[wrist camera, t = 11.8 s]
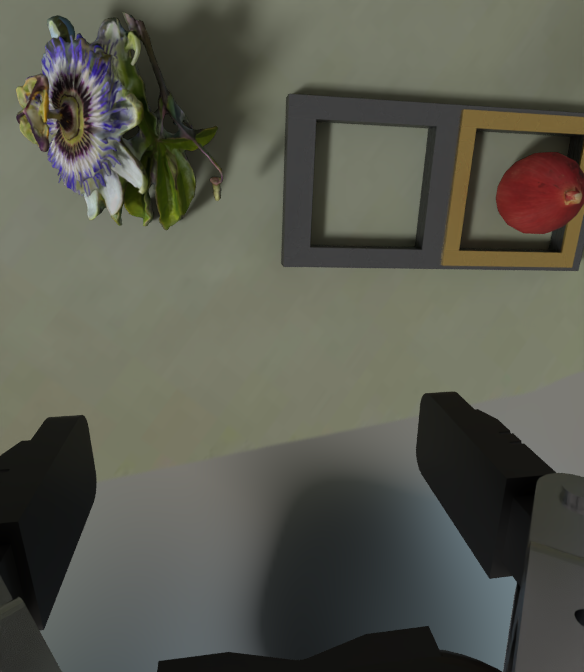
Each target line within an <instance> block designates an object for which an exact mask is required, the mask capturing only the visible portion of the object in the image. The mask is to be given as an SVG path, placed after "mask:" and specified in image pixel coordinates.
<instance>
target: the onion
mask: <svg viewBox="0 0 584 672" xmlns="http://www.w3.org/2000/svg"><path fill="white" fill-rule="evenodd" d="M496 203H497V208H498V211H499V213H500V215H501V216H502V218H503V219H504V220H505V222H506V223H507V225H509V226H511V227H513V228H515V229H516V230H518V231H520V232H522V233H531V234H545V233H548V232H551V231H554V230H556V229H559V228H561V227H563V226H565V225H566V224H567V223H568V222H570V221H571V220H572V219H573V218H574V217H575V216H576V215H577V214H578V212H579V211H580V209H581V208H582V206H583V205H584V173H583V171H582V170H581V168H580V167H579V165H578V163H577V162H576V161H574V160H572V159H570V158H568V157H566V156H564V155H562V154H560V153H558V152H545V153H534V154H532V155H530V156H528V157H526V158H524V159H521V160H519V161H517V162H515V163H514V164H513V165H512V166H511V167H510V168H509V169H508V170H507V171H506V172H505V174H504V175H503V177H502V179H501V181H500V183H499V185H498V188H497V194H496Z"/></svg>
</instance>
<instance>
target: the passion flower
mask: <svg viewBox="0 0 584 672" xmlns="http://www.w3.org/2000/svg"><path fill="white" fill-rule="evenodd" d="M123 15H124V17H125V21H126V23H127V25H128V29H129V30H130V31H125V30H124V29H123V28H122V26H121V24H120V22H119V20H118V18H108V19H106V20H104V21H103V22H102V24H101V26H100V28H99V31H98V37H97V39H96V40H95V41H94V42H93V43H91V44H89V43H88V42H87V41H86V40H85V39H84V38H83V37H82V35H81V34H80V33H78V34H77V39H76V40H74V38H75V31H74V27H73V25H72V24H71V23H70V21H69V20H67V19H66V18H64V17H61V16H58V15H57V16H53V17H51V18H49V19H48V20H47V22H48V27H49V30H50V33H51V36H52V39H51V40H50V41H49V42H47V44H46V46H45V48H46V49H45V51H46V53H44V54H43V58H42V72H43V74H39V75H36V76H31V77H28V78H27V79H26V81H25V84H24V86H19V87H17V89H16V92H17V96H18V100H19V103H20V105H21V107H22V108H23V110H22V111H20V112H18V114H17V117H16V118H17V121H18V123H19V124H20V130H21V132H22V134H23V135H24V136H25V137H27V139H28V140H29V141H31V142H32V143H33V144H36V143H37V145H38V146H39V148H40V150H41V151H43V152H47V151H48V149H49V152H48V160H49V161H50V162H51V164H52V167H53V168H57V169H59V173H58V176H59V174H61V176H60V179H59V182H58V183H60V180H61V178H63V180H64V185H67V188H70V189H72V190H73V191H74V192H75V193H78V194H79V195H82V196H83V195H84V198H85V200H86V203H87V211H88V213H87V214H88V217H89V219H90V220H93V219H94V218H95V217H96V216H98V215H99V214H101V213H102V211H103V210H104V208H106V207H107V209H108V211H109V213H110V215H111V217H112V219H114V221H115V222H116V223H117V224H118V225H119V226H121V225H122V219H121V214H122V206H123V204H124V207H125V208H126V210H127V211H128V212H129V214H131V215H132V216H136V217H141V218H143V226H147V225H148V224H149V223H150V222H151V221H152V219H153V214H154V213H153V209H152V206H151V198H150V195H149V188H150V186H151V185H152V184H154V190H155V198H156V204H157V208H158V212H159V214H160V218H159V221H160V223H161V225H162V227H163V228H164V229H165V230H168V229H169V227H170V226H172V225H174V224H175V223H176V222H178V221H179V220H181V219H182V218H183V216H184V215H185V213H186V211H187V209H188V207H189V205H190V203H191V201H192V199H193V198H194V195H195V188H196V178H195V174H194V172H193V169H192V167H191V165H190V163H189V161H188V159H187V156H186V155H185V150H188V151H194V150H196V149H198V148H200V150H201V152H202V153H204V154H205V155H207V157H208V158H209V159H210V161H211V162H212V163H213V164H214V166H215V167H216V168H217V169H218V170H219V172H220V173H221V177H211V178H210V181H211V182H212V184H213V189H214V191H213V195H214V197H215V200H216V201H219V199H220V198H221V187H220V184H221V183H222V181H223V174H222V169H221V168H220V167H219V166H218V164H217V163H216V162H215V160H214V159H213V158H212V157H211V155H210V154H209V153H208V152H207V151H206V150H205V149H204V148H203V146H204V145H206V144H208V143H209V142H210V141H211V139H212V138H213V137H214V136H215V133H216V131H217V129H218V127H217V126H214V127H211V128H207V129H199V130H194V129H192V128H193V127H192V125H191V124H190V123H189V121H188V119H187V118H186V116H185V114H184V112H183V111H182V110H181V108H180V107H179V106H178V105H177V103H176V102H175V100H174V98H173V96H172V95H171V93H170V92H169V91H168V90H167V88H166V86H165V83H164V80H163V77H162V74H161V71H160V69H159V67H158V64H157V61H156V58H155V55H154V52H153V49H152V45H151V41H150V37H149V35H148V33H147V31H146V28H145V26H144V23H143V21H140V20H139V21H138V20H135V19H134V18H133V17H132V15H128V14H127V13H124V12H123ZM140 40H141V41H142V42H143V44H144V45H145V48H146V50H147V53H148V56H149V59H150V62H151V64H152V67H153V70H154V73H155V76H156V78H157V81H158V84H159V88H160V95H159V99H158V109H157V110H156V112H153V111H152V110H151V108H150V106H149V105H148V102H147V98H146V93H145V84H144V82H143V80H142V79H141V76H140V74H139V70H138V68H137V66H136V65H135V63H136V62H137V60H138V57H139V55H140V51H141V44H140ZM131 49H133V50H135V55H134V58H133V60H132V57H131ZM40 96H41V97H42V99H43V101H42V103H41V101H40ZM166 114H169V116H170V117H171V118H172V119H173V123H174V124H175V125H178V127H179V130H178V131H177V132H176V133H174V134H172V133H170V132H167V131H165V129H164V127H163V119H164V116H165V115H166ZM47 120H48V121H47ZM46 122H47V124H46ZM183 122H184V123H185V124H187V125H188V126H189V127H190V128H191V129H190V128H188V127H186V126H184V125H183V124H182V123H183ZM135 126H138V128H139V131H138V133H137V134H136V136H135V137H133V138H131V139H129V140H126V139H124V138H123V137H122V136H123V134H124V133H126V132H127V131H129V130H130V129H132V128H134V127H135ZM156 126H157V127H156ZM49 133H50V134H51V135H52V142H51V143H50V145H49V138H48V136H49Z"/></svg>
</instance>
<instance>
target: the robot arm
mask: <svg viewBox="0 0 584 672" xmlns="http://www.w3.org/2000/svg"><path fill="white" fill-rule="evenodd" d="M416 457H417V463H418V467H419V470H420V472H421V474H422V476H423V477H424V479H425V480H426V482H427V483H428V485H429V486H430V488H431V490H432V491H433V493H434V494H435V495H436V497H437V499H438V500H439V501H440V503H441V505H442V506H443V508H444V509H445V511H446V513H447V514H448V516H449V517H450V519H451V520H452V522H453V523H454V525H455V526H456V528H457V529H458V531H459V533H460V534H461V536H462V537H463V538H464V540H465V542H466V543H467V545H468V546H469V548H470V549H471V551H472V552H473V554H474V556H475V557H476V559H477V560H478V562H479V563H480V565H481V566H482V568H483V569H484V571H485V572H486V574H487V575H488V577H489V578H490V579H491V578H499V577H508V576H513V577H514V579H515V580H516V581H517V585H516V590H515V595H514V601H513V609H512V615H511V623H510V629H509V635H508V642H507V649H506V656H505V663H504V670H503V672H584V477H581V476H577V475H573V474H565V473H556V472H555V471H554V470H553V469H552V468H550V467H549V466H548V465H547V464H546V463H545V462H544V461H543V460H542V459H541V458H539V457H538V456H537V455H536V454H535V453H534V452H533V451H532V450H531V449H530V448H528V447H527V446H526V445H525V444H522V443H521V440H520V439H519V438H517V437H516V436H515V435H514V434H513V433H512V434H511V433H510V430H509V429H507V428H506V427H505V426H504V425H503V424H502V423H501V422H500V421H499V420H498V419H496V418H494V417H492V416H490V415H488V414H486V413H484V412H482V411H480V410H478V409H477V410H475V409H474V408H473V407H471V406H470V405H469V404H468V403H467V402H466V401H465V400H464V399H463V398H462V397H461V396H460V395H459V394H458V393H457V392H439V393H426V394H424V395H423V396H422V399H421V403H420V413H419V424H418V434H417V445H416ZM95 494H96V471H95V464H94V458H93V452H92V446H91V440H90V434H89V428H88V423H87V420H86V418H85V416H83V415H77V416H61V417H48V418H47V419H46V420H45V421H44V422H43V424H42V425H41V427H40V428H39V429H38V431H37V432H36V434H35V435H34V436H33V438H32V439H31V440H28V441H21V442H19V443H18V444H17V445H15V446H14V447H12V448H11V449H9V450H8V451H6V452H5V453H3V454H2V455H1V456H0V672H62V671H61V669H60V668H59V666H58V664H57V662H56V660H55V658H54V657H53V655H52V653H51V651H50V649H49V647H48V646H47V644H46V642H45V640H44V638H43V636H42V635H41V633H40V631H39V630H44V628H45V626H46V623H47V620H48V618H49V615H50V613H51V610H52V608H53V605H54V603H55V600H56V597H57V595H58V592H59V590H60V587H61V585H62V582H63V579H64V577H65V574H66V572H67V569H68V567H69V564H70V562H71V559H72V556H73V554H74V551H75V549H76V546H77V543H78V541H79V539H80V536H81V533H82V531H83V528H84V526H85V523H86V520H87V518H88V516H89V513H90V510H91V508H92V505H93V503H94V499H95ZM157 672H502V671H500V670H498V669H497V668H494V667H492V666H490V665H488V664H486V663H484V662H482V661H479V660H477V659H474V658H471V657H468V656H465V655H462V654H458V653H454V652H450V651H446V650H439V648H438V646H437V644H436V642H435V639H434V637H433V635H432V633H431V631H430V628H429V626H425V627H418V628H409V629H402V630H394V631H387V632H379V633H371V634H365V635H363V636H360V637H358V638H355V639H353V640H351V641H348V642H346V643H343V644H341V645H338V646H336V647H334V648H331V649H329V650H326V651H324V652H322V653H319V654H317V655H314V656H312V657H309V658H307V659H304V660H289V659H282V658H273V657H264V656H256V655H249V654H240V653H232V652H225V653H218V654H210V655H203V656H195V657H187V658H179V659H172V660H164V661H159V662H158V670H157Z"/></svg>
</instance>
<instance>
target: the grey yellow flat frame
mask: <svg viewBox="0 0 584 672" xmlns="http://www.w3.org/2000/svg"><path fill="white" fill-rule="evenodd" d="M316 122H328V123H345V124H363V125H380V126H397V127H415V128H429V129H428V138H427V147H426V155H425V164H424V173H423V181H422V190H421V199H420V207H419V216H418V225H417V234H416V242H415V247H379V246H331V245H310V238H311V218H312V197H313V176H314V155H315V135H316ZM476 131H484V132H501V133H519V134H536V135H553V136H571V141H570V146H569V151H568V156H567V157H568V158H570V159H572V160H574V161H576V162H577V163H578V165H579V167H580V168H581V170H582V171H583V173H584V113H574V112H559V111H544V110H529V109H513V108H498V107H483V106H468V105H452V104H437V103H422V102H407V101H391V100H376V99H361V98H346V97H330V96H315V95H300V94H288V96H287V97H286V123H285V156H284V189H283V222H282V255H281V264H282V265H283V267H343V268H413V269H483V270H552V271H578V270H579V265H580V261H581V256H582V252H583V247H584V205H583V206H582V208H581V209H580V211H579V212H578V214H577V215H576V216H575V217H574V218H573V219H572V220H571V221H570V222H568V223H567V224H566V225H565V226H563V227H561V228H559V229H556V230H554V231H552V236H551V241H550V246H549V250H523V249H475V248H459V247H460V240H461V233H462V226H463V219H464V212H465V205H466V198H467V191H468V184H469V177H470V170H471V163H472V156H473V149H474V142H475V135H476Z"/></svg>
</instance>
